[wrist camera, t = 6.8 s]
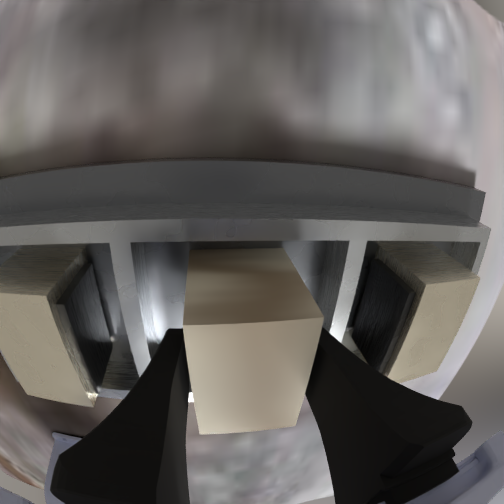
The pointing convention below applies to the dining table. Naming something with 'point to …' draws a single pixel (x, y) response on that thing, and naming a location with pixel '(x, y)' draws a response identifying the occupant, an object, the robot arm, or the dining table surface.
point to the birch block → (248, 338)
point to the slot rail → (225, 237)
